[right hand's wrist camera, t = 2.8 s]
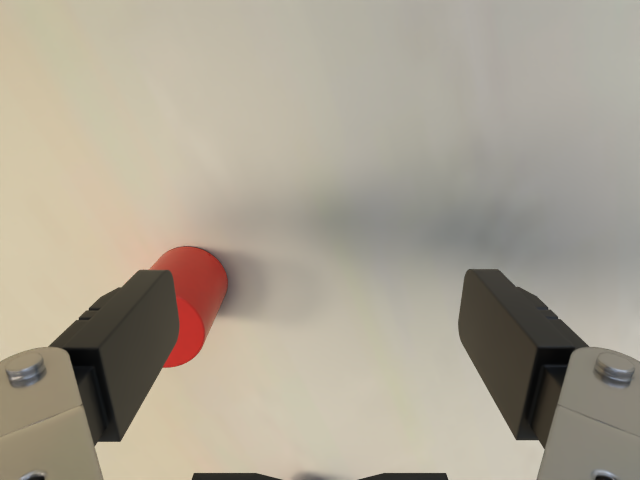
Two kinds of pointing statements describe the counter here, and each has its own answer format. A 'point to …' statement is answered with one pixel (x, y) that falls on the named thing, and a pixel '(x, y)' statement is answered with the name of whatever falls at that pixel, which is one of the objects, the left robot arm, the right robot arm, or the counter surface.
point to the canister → (193, 297)
